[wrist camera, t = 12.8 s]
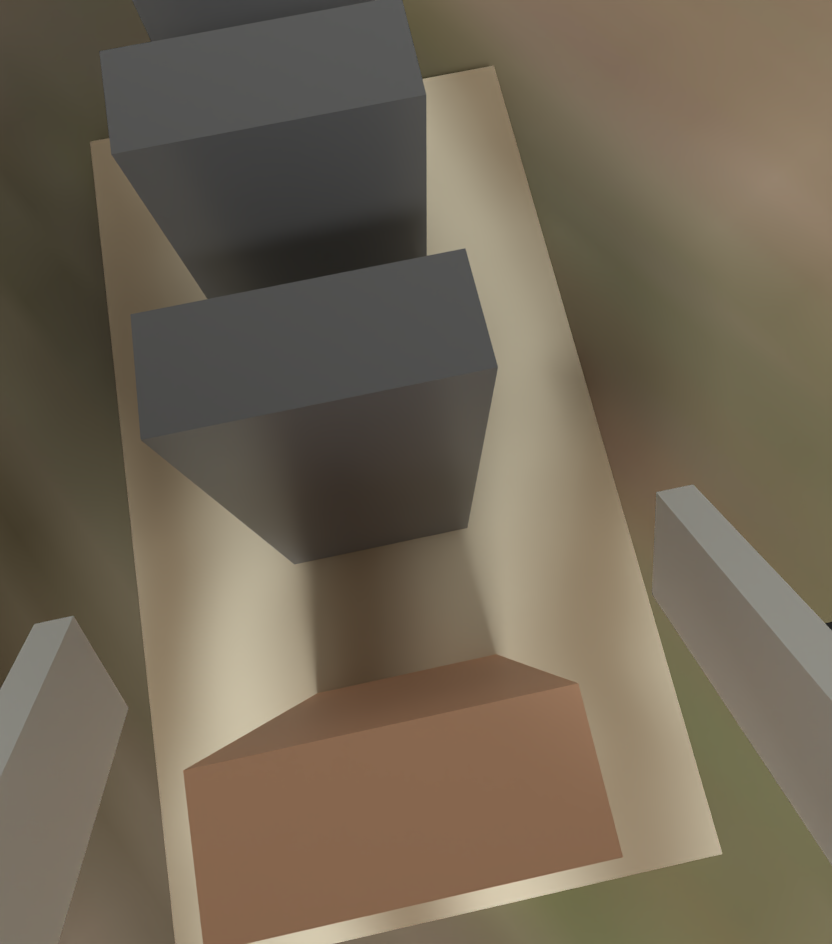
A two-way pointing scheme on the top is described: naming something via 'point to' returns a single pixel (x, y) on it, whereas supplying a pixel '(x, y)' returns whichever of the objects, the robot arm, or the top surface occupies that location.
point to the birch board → (412, 544)
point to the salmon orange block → (396, 799)
